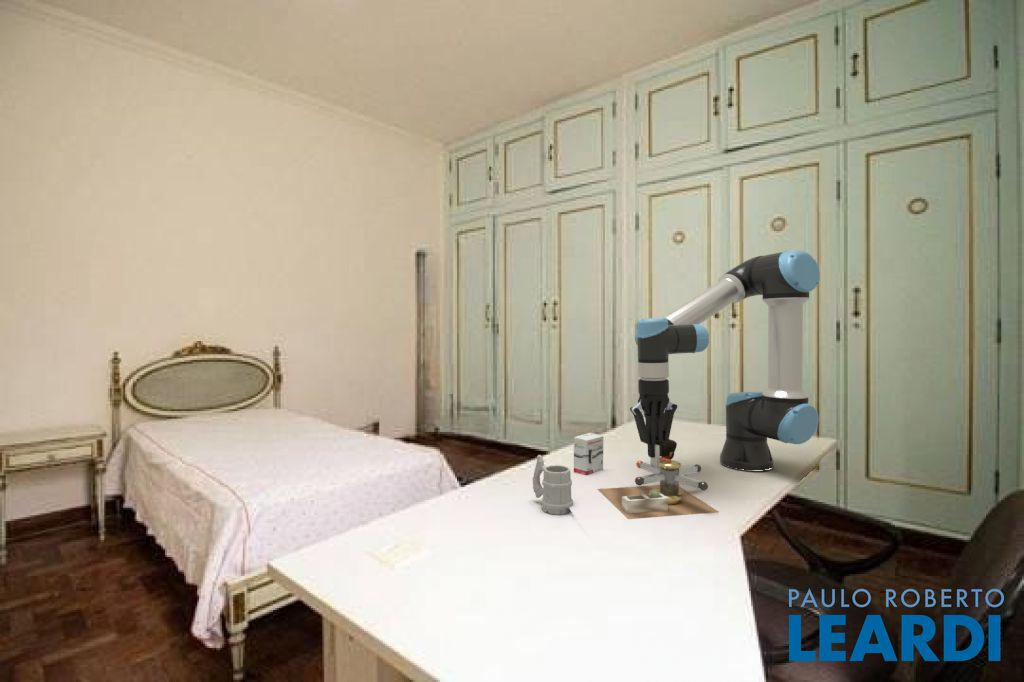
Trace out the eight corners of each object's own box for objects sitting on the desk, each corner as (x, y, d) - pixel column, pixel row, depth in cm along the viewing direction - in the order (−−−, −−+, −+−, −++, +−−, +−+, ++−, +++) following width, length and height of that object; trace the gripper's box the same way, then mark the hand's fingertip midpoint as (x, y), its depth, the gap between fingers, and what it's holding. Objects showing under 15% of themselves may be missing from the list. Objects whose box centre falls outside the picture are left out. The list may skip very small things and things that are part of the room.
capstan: (666, 478, 134) (667, 445, 134) (738, 503, 115) (738, 464, 115) (605, 492, 124) (605, 456, 123) (672, 522, 104) (672, 479, 104)
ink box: (586, 480, 138) (586, 439, 138) (573, 477, 142) (572, 436, 142) (604, 474, 144) (604, 434, 144) (590, 470, 148) (590, 432, 147)
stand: (675, 489, 130) (675, 468, 130) (719, 518, 111) (719, 493, 111) (597, 494, 127) (597, 472, 127) (628, 525, 107) (628, 499, 107)
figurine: (672, 486, 133) (672, 442, 133) (652, 482, 137) (652, 439, 136) (680, 480, 138) (680, 438, 138) (660, 476, 142) (660, 435, 141)
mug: (558, 518, 112) (558, 466, 111) (522, 504, 120) (522, 456, 120) (579, 509, 117) (579, 460, 116) (544, 497, 126) (543, 451, 125)
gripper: (665, 375, 130) (666, 462, 131) (624, 378, 126) (626, 468, 127) (683, 378, 122) (684, 470, 124) (640, 381, 119) (642, 476, 120)
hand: (655, 469), depth 125 cm, fingers closed
